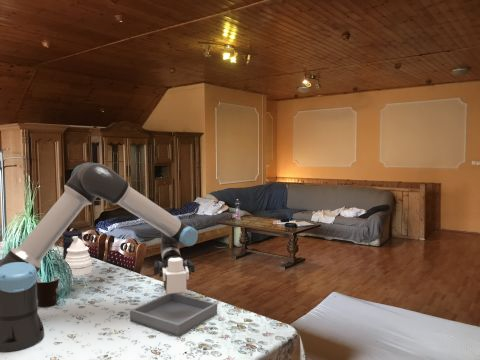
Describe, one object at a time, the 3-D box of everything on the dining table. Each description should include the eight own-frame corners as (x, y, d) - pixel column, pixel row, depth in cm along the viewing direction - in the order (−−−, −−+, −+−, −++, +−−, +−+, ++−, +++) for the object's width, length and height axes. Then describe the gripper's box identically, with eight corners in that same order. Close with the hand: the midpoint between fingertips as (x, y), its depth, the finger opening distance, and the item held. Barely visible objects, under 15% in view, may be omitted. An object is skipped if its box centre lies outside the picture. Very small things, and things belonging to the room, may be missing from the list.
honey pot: (83, 276, 188) (82, 239, 186) (58, 275, 190) (57, 238, 188) (96, 269, 200) (96, 233, 199) (73, 267, 202) (72, 232, 201)
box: (130, 321, 140) (130, 310, 139) (171, 301, 158) (171, 291, 158) (178, 337, 128) (178, 325, 128) (217, 314, 147) (217, 303, 147)
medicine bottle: (163, 287, 145) (163, 255, 144) (183, 285, 147) (183, 253, 146) (166, 294, 138) (166, 260, 137) (186, 292, 140) (186, 259, 139)
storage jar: (84, 260, 216) (83, 233, 215) (64, 262, 211) (63, 234, 210) (81, 256, 224) (80, 229, 223) (62, 258, 219) (61, 231, 218)
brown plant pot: (49, 309, 149) (49, 283, 148) (29, 307, 151) (29, 281, 150) (69, 298, 160) (68, 274, 160) (50, 296, 162) (49, 272, 161)
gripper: (196, 266, 162) (205, 284, 140) (145, 269, 157) (146, 289, 135) (196, 248, 162) (205, 264, 139) (145, 250, 157) (146, 267, 135)
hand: (176, 276), depth 137 cm, fingers closed on medicine bottle, 7 cm apart
